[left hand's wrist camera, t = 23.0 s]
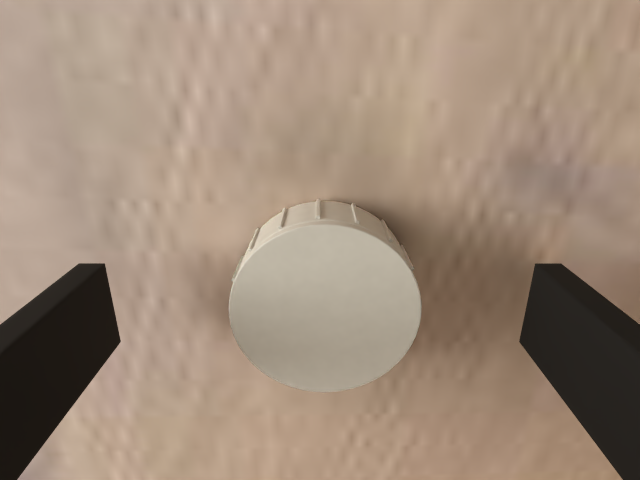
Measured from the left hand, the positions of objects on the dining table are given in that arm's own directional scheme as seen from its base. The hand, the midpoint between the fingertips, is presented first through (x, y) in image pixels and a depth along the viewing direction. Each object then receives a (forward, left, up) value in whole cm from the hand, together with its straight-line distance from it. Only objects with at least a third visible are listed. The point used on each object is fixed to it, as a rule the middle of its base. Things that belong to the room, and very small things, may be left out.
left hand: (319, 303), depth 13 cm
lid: (0, 0, +1) cm, 1 cm away
